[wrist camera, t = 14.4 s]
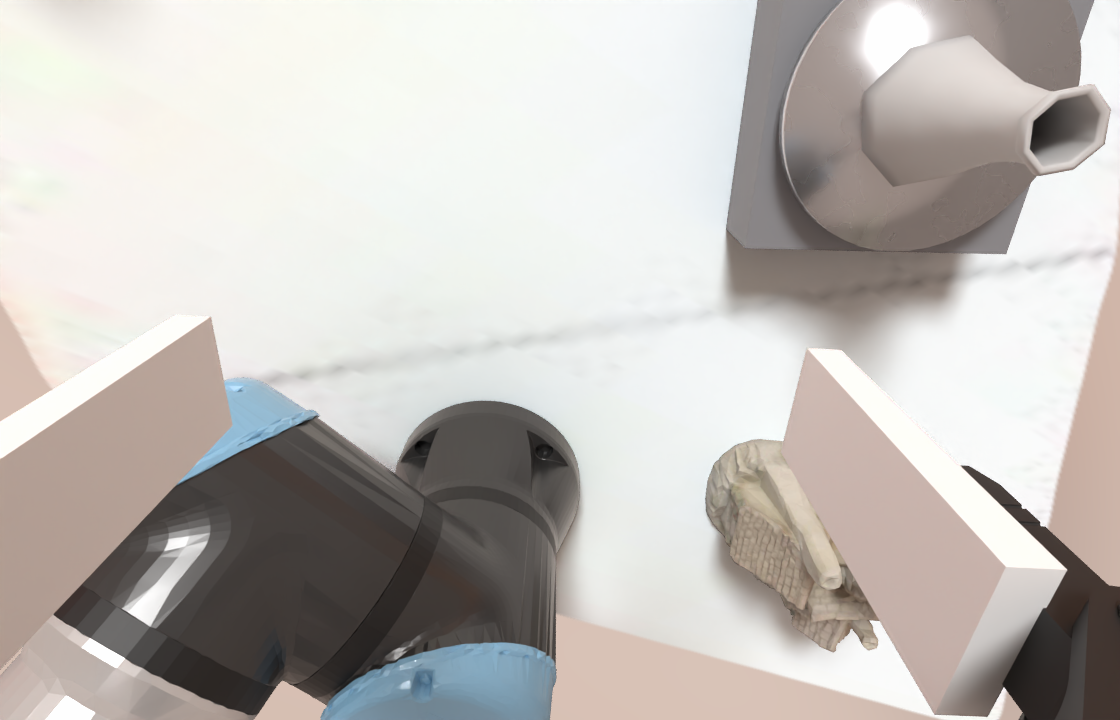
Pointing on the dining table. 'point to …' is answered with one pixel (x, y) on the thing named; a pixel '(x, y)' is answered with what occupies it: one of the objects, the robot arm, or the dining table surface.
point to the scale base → (759, 180)
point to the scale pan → (836, 114)
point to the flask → (973, 116)
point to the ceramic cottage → (786, 543)
